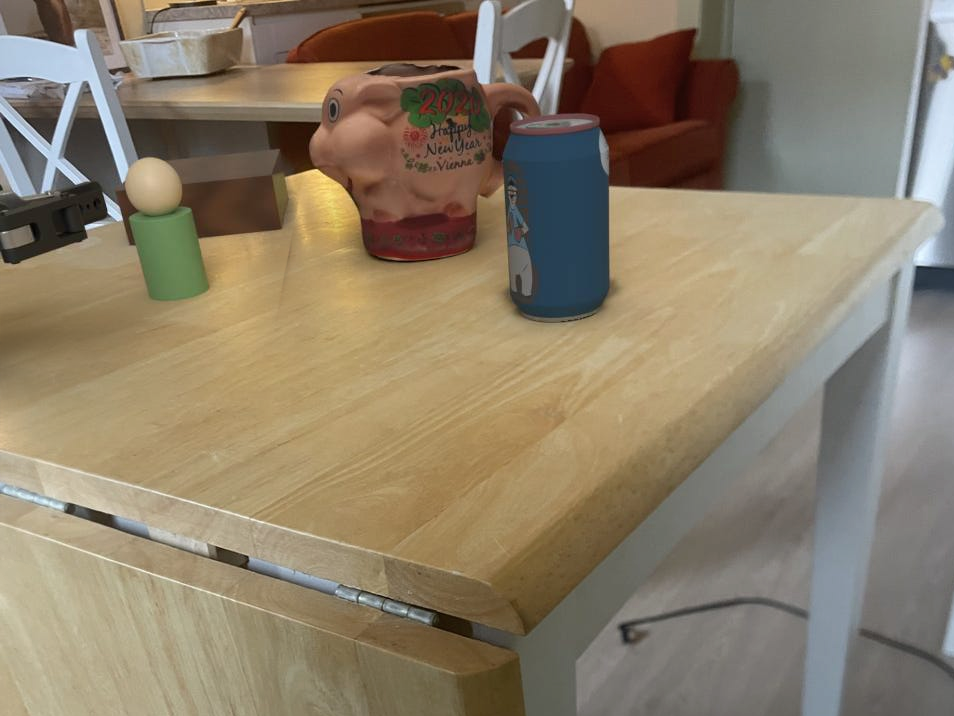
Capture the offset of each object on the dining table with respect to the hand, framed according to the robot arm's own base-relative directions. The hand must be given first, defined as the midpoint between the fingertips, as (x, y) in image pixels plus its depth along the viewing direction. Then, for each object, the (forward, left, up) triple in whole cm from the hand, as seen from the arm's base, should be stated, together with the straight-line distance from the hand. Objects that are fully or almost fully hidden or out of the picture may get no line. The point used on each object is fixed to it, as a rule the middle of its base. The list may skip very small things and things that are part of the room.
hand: (49, 198), depth 66 cm
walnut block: (+5, +34, -10) cm, 36 cm away
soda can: (+33, -2, -10) cm, 35 cm away
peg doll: (+5, +9, -10) cm, 14 cm away
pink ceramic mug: (+26, +20, -10) cm, 34 cm away
